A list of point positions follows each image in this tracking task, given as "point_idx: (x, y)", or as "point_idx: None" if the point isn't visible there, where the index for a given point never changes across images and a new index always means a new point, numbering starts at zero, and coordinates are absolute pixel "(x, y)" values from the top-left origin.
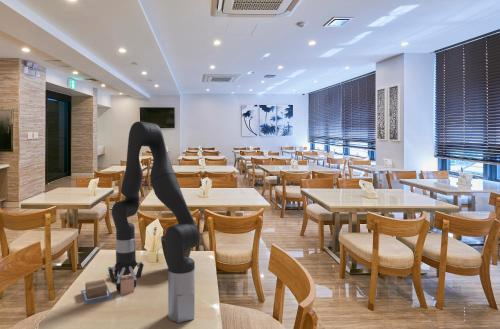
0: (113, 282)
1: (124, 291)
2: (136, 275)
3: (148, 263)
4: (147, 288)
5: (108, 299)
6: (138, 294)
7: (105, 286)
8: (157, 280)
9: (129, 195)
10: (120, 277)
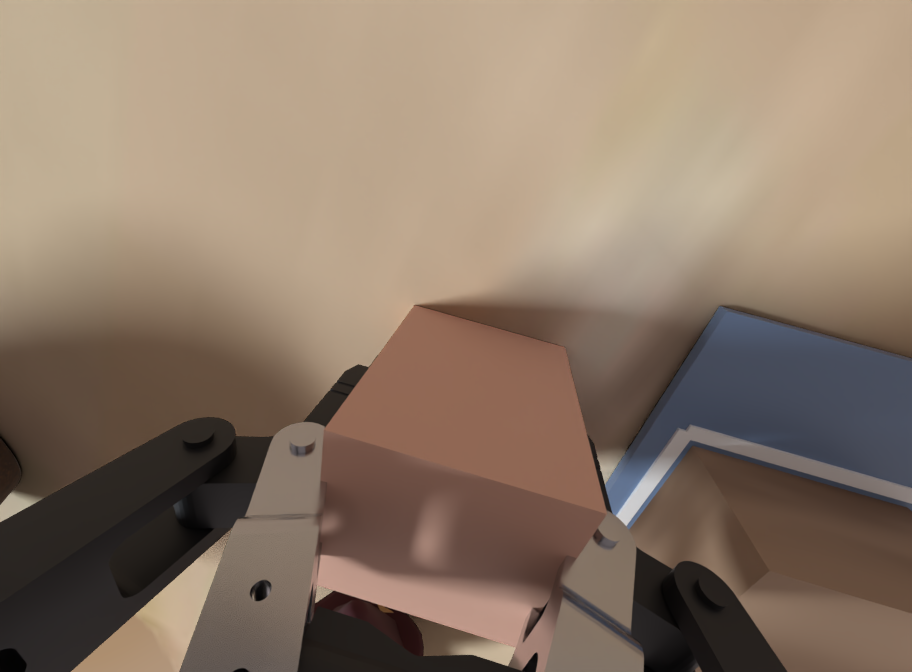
0: (703, 569)
1: (525, 359)
2: (238, 496)
3: (164, 619)
4: (247, 300)
5: (772, 344)
6: (387, 225)
7: (785, 565)
8: (126, 388)
9: None
10: (600, 617)
